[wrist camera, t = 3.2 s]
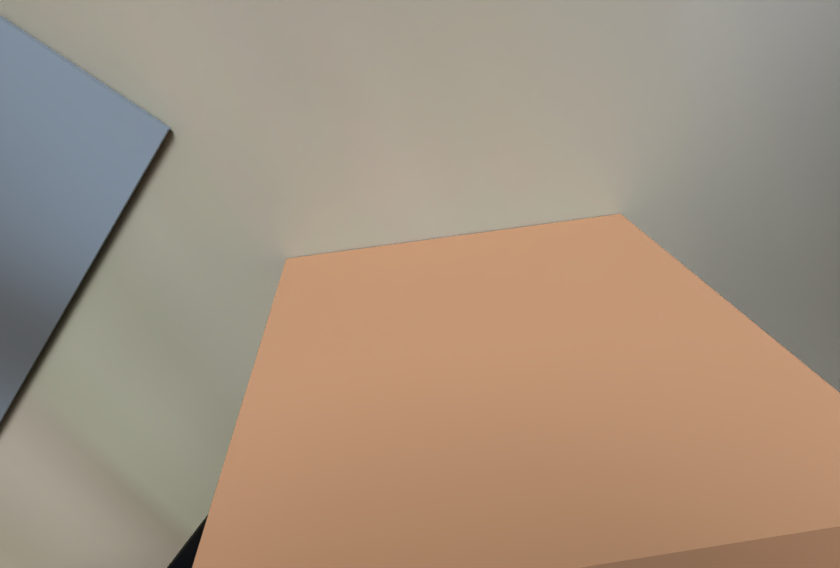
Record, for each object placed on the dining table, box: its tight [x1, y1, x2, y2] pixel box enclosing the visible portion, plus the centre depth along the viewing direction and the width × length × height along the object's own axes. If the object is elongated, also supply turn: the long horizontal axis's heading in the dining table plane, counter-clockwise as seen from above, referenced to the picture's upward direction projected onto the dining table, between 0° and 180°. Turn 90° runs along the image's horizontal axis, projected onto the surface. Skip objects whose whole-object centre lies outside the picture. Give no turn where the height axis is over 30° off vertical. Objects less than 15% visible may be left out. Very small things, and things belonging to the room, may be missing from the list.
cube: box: [192, 214, 840, 568], centre depth 6 cm, size 5×5×5 cm
